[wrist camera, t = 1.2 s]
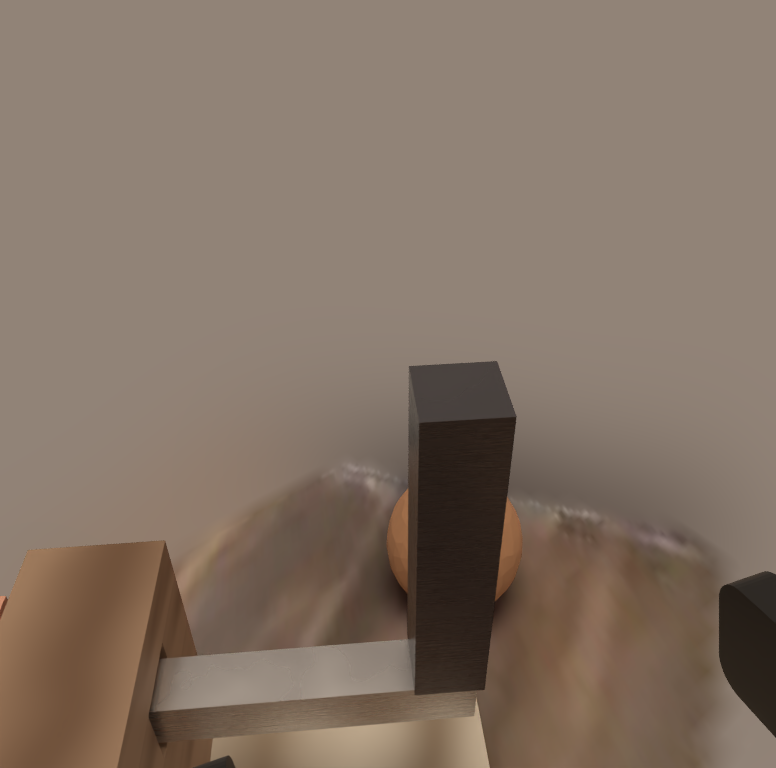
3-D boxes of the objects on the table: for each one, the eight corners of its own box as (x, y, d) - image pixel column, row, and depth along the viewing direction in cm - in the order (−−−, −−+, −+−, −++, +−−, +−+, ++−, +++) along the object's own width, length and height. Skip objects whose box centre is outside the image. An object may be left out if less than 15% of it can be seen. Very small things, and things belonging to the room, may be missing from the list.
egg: (383, 543, 46) (381, 438, 40) (501, 536, 46) (513, 431, 41) (392, 649, 40) (391, 540, 35) (528, 639, 40) (546, 530, 35)
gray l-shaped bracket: (-74, 768, 25) (-307, 467, 17) (-47, 702, 27) (-244, 403, 19) (480, 720, 26) (516, 416, 18) (469, 660, 28) (497, 361, 20)
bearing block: (-72, 1032, 27) (-280, 878, 19) (29, 719, 37) (-80, 526, 28) (521, 969, 28) (570, 799, 20) (468, 683, 38) (487, 488, 30)
